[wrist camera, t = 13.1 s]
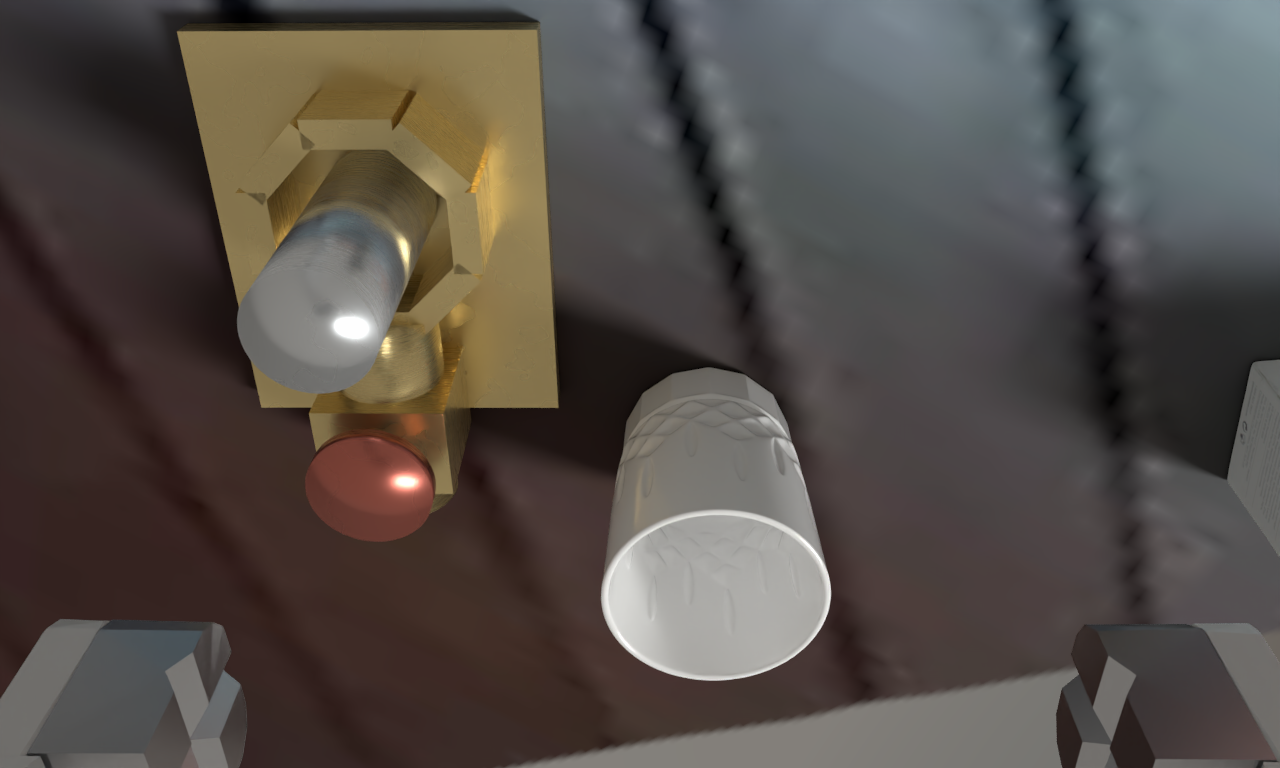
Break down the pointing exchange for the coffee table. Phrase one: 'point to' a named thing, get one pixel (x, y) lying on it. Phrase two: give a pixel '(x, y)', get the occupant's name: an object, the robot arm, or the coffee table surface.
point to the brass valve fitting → (452, 254)
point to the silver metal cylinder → (338, 275)
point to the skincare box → (1259, 450)
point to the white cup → (712, 533)
